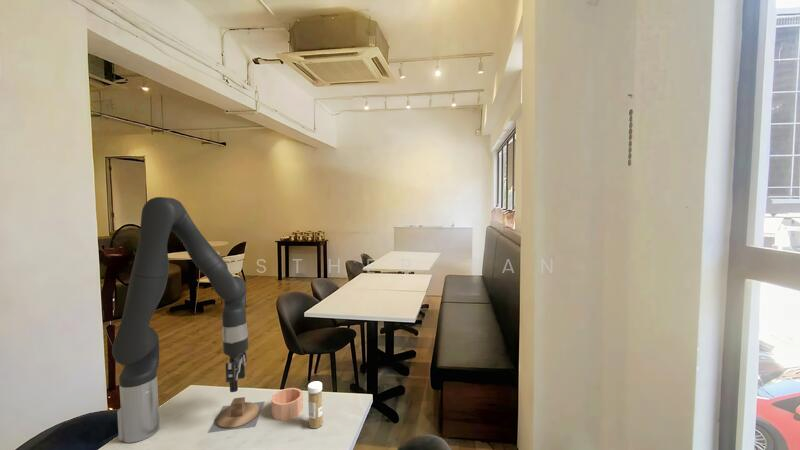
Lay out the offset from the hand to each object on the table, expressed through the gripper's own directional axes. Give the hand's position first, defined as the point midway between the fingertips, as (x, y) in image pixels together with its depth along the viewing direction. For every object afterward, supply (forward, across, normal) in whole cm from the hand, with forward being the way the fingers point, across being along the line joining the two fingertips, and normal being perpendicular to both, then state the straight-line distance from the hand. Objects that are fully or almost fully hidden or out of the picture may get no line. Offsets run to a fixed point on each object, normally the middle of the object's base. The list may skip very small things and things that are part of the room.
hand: (237, 384), depth 110 cm
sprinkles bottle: (+12, +9, +26) cm, 30 cm away
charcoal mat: (+12, 0, 0) cm, 12 cm away
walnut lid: (+11, 0, 0) cm, 11 cm away
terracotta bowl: (+12, 0, +16) cm, 20 cm away
